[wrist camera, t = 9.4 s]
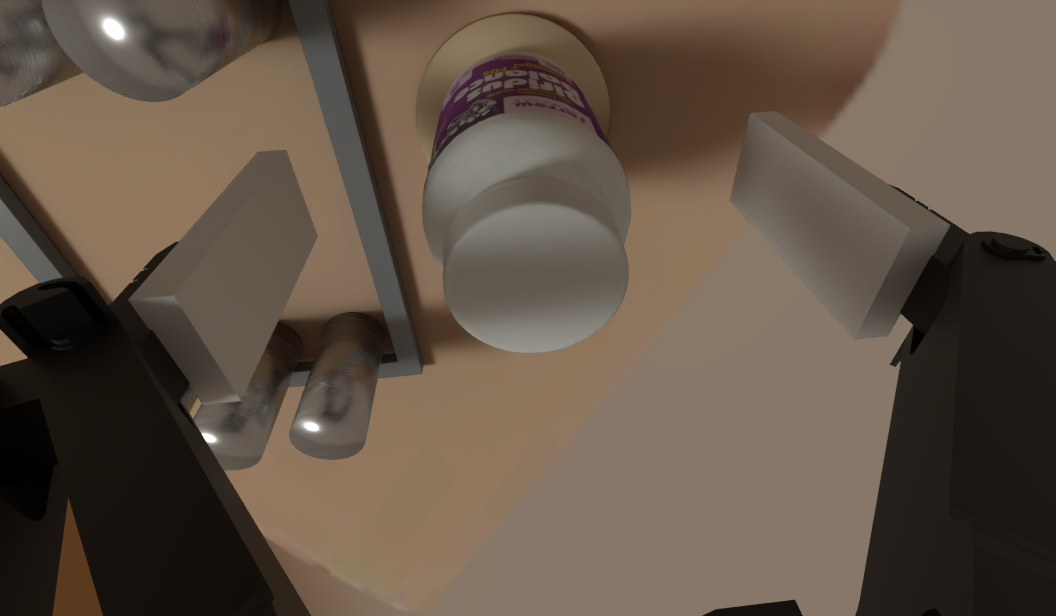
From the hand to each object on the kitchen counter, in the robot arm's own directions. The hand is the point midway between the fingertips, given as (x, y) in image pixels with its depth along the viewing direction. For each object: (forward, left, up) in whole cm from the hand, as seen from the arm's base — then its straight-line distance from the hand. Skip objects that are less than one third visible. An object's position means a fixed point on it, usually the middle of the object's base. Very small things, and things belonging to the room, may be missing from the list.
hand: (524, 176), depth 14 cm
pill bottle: (0, 0, -4) cm, 4 cm away
